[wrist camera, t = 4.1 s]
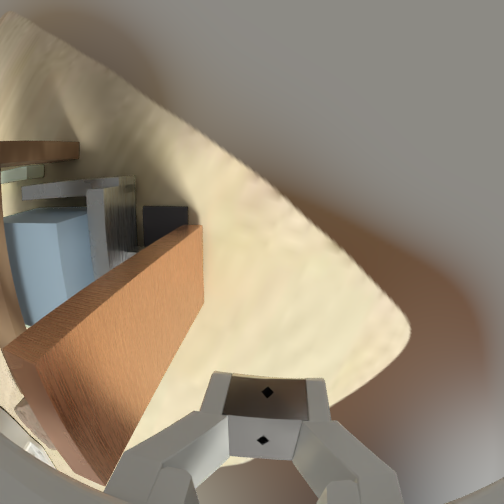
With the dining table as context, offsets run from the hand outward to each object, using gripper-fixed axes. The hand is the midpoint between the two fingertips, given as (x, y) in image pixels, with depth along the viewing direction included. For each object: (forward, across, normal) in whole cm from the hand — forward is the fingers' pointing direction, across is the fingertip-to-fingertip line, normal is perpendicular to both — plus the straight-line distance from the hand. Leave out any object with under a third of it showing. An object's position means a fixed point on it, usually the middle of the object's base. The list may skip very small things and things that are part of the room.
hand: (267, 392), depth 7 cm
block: (+11, -15, 0) cm, 19 cm away
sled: (+10, -11, 0) cm, 15 cm away
